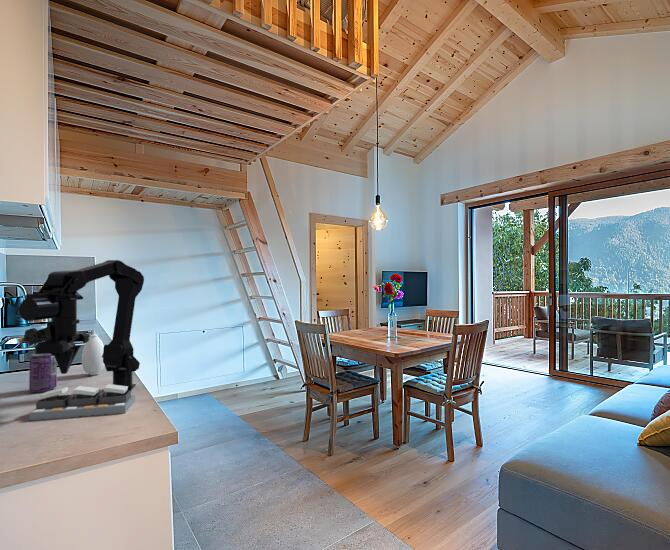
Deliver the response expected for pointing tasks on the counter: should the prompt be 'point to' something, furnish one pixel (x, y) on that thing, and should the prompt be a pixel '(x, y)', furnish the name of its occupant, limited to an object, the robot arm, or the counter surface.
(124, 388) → the right rocker
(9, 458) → the counter surface
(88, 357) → the sauce bottle
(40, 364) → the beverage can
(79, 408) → the switch panel
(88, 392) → the middle rocker
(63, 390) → the left rocker
